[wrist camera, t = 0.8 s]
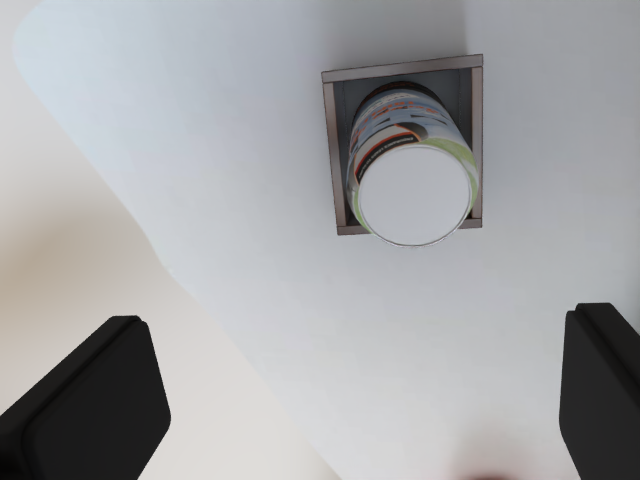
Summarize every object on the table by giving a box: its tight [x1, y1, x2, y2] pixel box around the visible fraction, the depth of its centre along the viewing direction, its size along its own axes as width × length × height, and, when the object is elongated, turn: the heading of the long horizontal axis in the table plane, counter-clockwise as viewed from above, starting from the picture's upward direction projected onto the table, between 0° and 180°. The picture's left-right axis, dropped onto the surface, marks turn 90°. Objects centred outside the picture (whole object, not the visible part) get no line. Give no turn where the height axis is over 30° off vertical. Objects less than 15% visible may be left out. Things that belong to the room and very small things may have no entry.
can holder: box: [321, 54, 483, 235], centre depth 29 cm, size 9×8×5 cm
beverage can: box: [346, 81, 479, 248], centre depth 26 cm, size 6×7×12 cm
